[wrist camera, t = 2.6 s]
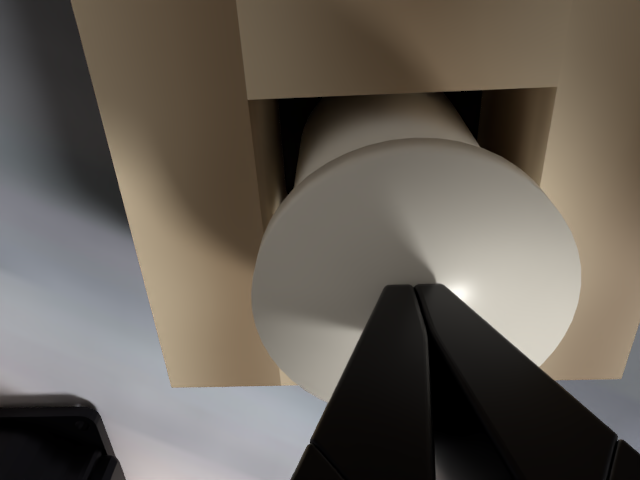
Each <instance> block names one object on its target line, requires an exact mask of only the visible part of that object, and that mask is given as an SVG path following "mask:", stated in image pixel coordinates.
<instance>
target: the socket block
mask: <svg viewBox="0 0 640 480" xmlns="http://www.w3.org/2000/svg"><path fill="white" fill-rule="evenodd" d="M71 4H72V8H73V11H74V15H75V19H76V23H77V27H78V31H79V34H80V38H81V42H82V46H83V50H84V54H85V57H86V61H87V65H88V69H89V73H90V77H91V80H92V84H93V88H94V92H95V96H96V100H97V103H98V107H99V111H100V115H101V119H102V123H103V126H104V130H105V134H106V138H107V142H108V146H109V149H110V153H111V157H112V161H113V165H114V169H115V172H116V176H117V180H118V184H119V188H120V192H121V195H122V199H123V203H124V207H125V211H126V215H127V218H128V222H129V226H130V230H131V234H132V238H133V241H134V245H135V249H136V253H137V257H138V261H139V264H140V268H141V272H142V276H143V280H144V284H145V287H146V291H147V295H148V299H149V303H150V307H151V310H152V314H153V318H154V322H155V326H156V330H157V333H158V337H159V341H160V345H161V349H162V352H163V356H164V360H165V364H166V368H167V372H168V375H169V379H170V383H171V387H172V388H179V387H230V386H282V385H297V384H296V383H295V382H293V381H292V380H291V379H290V378H289V377H288V376H287V375H286V374H285V373H284V372H283V371H282V370H281V369H280V368H279V367H278V366H277V364H276V363H275V362H274V361H273V359H272V358H271V357H270V355H269V354H268V352H267V350H266V348H265V347H264V345H263V343H262V341H261V339H260V336H259V334H258V331H257V329H256V326H255V321H254V317H253V312H252V300H251V290H252V281H253V274H254V269H255V265H256V260H257V256H258V252H259V248H260V244H261V241H262V237H263V235H264V233H265V230H266V228H267V226H268V224H269V221H270V219H271V218H272V216H273V215H274V213H275V212H276V210H277V208H278V207H279V205H280V204H281V203H282V202H283V200H284V199H285V198H286V197H287V192H286V181H285V169H284V158H283V147H282V135H281V124H280V113H279V101H278V99H280V98H303V97H327V96H351V95H375V94H399V93H423V92H447V91H471V90H482V99H481V108H480V118H479V127H478V137H477V143H478V144H479V146H480V147H481V148H484V149H486V150H488V151H490V152H493V153H495V154H497V155H499V156H502V157H503V158H505V159H506V160H508V161H509V162H511V163H513V164H514V165H516V166H517V167H519V168H520V169H521V170H522V171H524V172H525V173H526V174H527V175H528V176H529V177H531V178H532V179H533V180H534V181H535V182H536V183H537V185H538V186H539V187H540V188H541V189H542V191H543V192H544V193H545V194H546V195H547V197H548V198H549V199H550V201H551V202H552V203H553V205H554V206H555V207H556V208H557V210H558V211H559V212H560V214H561V215H562V217H563V218H564V220H565V222H566V223H567V225H568V227H569V229H570V230H571V232H572V235H573V238H574V240H575V243H576V246H577V248H578V253H579V259H580V264H581V289H580V295H579V301H578V305H577V308H576V311H575V314H574V317H573V320H572V322H571V324H570V326H569V328H568V330H567V332H566V334H565V336H564V337H563V339H562V340H561V342H560V343H559V344H558V346H557V347H556V349H555V350H554V351H553V353H552V354H551V355H550V356H549V357H548V358H547V359H546V361H545V362H544V363H543V364H542V365H541V366H540V368H541V369H542V370H543V371H544V372H545V373H547V374H548V375H549V376H550V377H551V378H552V379H553V380H592V379H621V378H622V375H623V372H624V369H625V366H626V362H627V359H628V356H629V353H630V350H631V347H632V344H633V341H634V338H635V335H636V332H637V329H638V325H639V322H640V0H71Z"/></svg>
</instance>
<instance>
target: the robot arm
mask: <svg viewBox="0 0 640 480" xmlns="http://www.w3.org/2000/svg"><path fill="white" fill-rule="evenodd" d="M617 439H618V436H617V434H616V433H615V432H613V431H612V430H611V429H610V428H609V427H608V426H607V425H605V424H604V423H603V422H602V421H601V420H600V419H598V418H597V417H596V416H595V415H594V414H593V413H592V412H590V411H589V410H588V409H587V408H586V407H585V406H583V405H582V404H581V403H580V402H579V401H578V400H577V399H575V398H574V397H573V396H572V395H571V394H570V393H568V392H567V391H566V390H565V389H564V388H563V387H562V386H560V385H559V384H558V383H557V382H556V381H555V380H553V379H552V378H551V377H550V376H549V375H548V374H547V373H545V372H544V371H543V370H542V369H541V368H540V367H538V366H537V365H536V364H535V363H534V362H533V361H532V360H530V359H529V358H528V357H527V356H526V355H525V354H523V353H522V352H521V351H520V350H519V349H518V348H517V347H515V346H514V345H513V344H512V343H511V342H510V341H508V340H507V339H506V338H505V337H504V336H503V335H502V334H500V333H499V332H498V331H497V330H496V329H495V328H493V327H492V326H491V325H490V324H489V323H488V322H487V321H485V320H484V319H483V318H482V317H481V316H480V315H478V314H477V313H476V312H475V311H474V310H473V309H471V308H470V307H469V306H468V305H467V304H466V303H465V302H463V301H462V300H461V299H460V298H459V297H458V296H456V295H455V294H454V293H453V292H452V291H451V290H450V289H448V288H447V287H446V286H445V285H443V284H440V283H433V284H417V285H415V287H413V286H412V285H410V284H395V285H386V286H385V287H384V288H383V290H382V292H381V294H380V296H379V299H378V301H377V303H376V305H375V307H374V309H373V311H372V313H371V315H370V317H369V319H368V321H367V323H366V326H365V328H364V330H363V332H362V334H361V336H360V338H359V340H358V342H357V344H356V346H355V348H354V350H353V352H352V355H351V357H350V359H349V361H348V363H347V365H346V367H345V369H344V371H343V373H342V375H341V377H340V379H339V381H338V384H337V386H336V388H335V390H334V392H333V394H332V396H331V398H330V400H329V402H328V404H327V406H326V408H325V410H324V413H323V415H322V417H321V419H320V421H319V423H318V425H317V427H316V429H315V431H314V433H313V435H312V437H311V440H310V444H309V445H307V447H306V449H305V451H304V453H303V455H302V457H301V459H300V461H299V464H298V466H297V468H296V470H295V472H294V474H293V475H292V477H291V479H290V480H640V454H639V453H638V452H637V451H636V450H635V449H633V448H632V447H631V446H630V445H629V444H628V443H627V442H625V441H624V440H618V441H617ZM0 480H126V479H125V476H124V473H123V470H122V468H121V465H120V462H119V460H118V459H117V458H116V456H115V454H114V451H113V448H112V446H111V443H110V440H109V438H108V435H107V432H106V429H105V427H104V424H103V421H102V419H101V416H100V415H99V413H98V412H97V411H95V410H94V409H91V408H89V407H47V408H0Z"/></svg>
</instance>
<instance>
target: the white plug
mask: <svg viewBox="0 0 640 480" xmlns="http://www.w3.org/2000/svg"><path fill="white" fill-rule="evenodd" d="M433 283H440V284H443V285H445V286H446V287H447V288H448V289H450V290H451V291H452V292H453V293H454V294H455V295H456V296H458V297H459V298H460V299H461V300H462V301H463V302H465V303H466V304H467V305H468V306H469V307H470V308H471V309H473V310H474V311H475V312H476V313H477V314H478V315H480V316H481V317H482V318H483V319H484V320H485V321H487V322H488V323H489V324H490V325H491V326H492V327H493V328H495V329H496V330H497V331H498V332H499V333H500V334H502V335H503V336H504V337H505V338H506V339H507V340H508V341H510V342H511V343H512V344H513V345H514V346H515V347H517V348H518V349H519V350H520V351H521V352H522V353H523V354H525V355H526V356H527V357H528V358H529V359H530V360H532V361H533V362H534V363H535V364H536V365H537V366H538V367H540V366H541V365H542V364H543V363H544V362H545V361H546V359H547V358H548V357H549V356H550V355H551V354H552V353H553V351H554V350H555V349H556V347H557V346H558V344H559V343H560V342H561V340H562V339H563V337H564V336H565V334H566V332H567V330H568V328H569V326H570V324H571V322H572V320H573V317H574V314H575V311H576V308H577V305H578V301H579V295H580V289H581V264H580V259H579V253H578V248H577V246H576V243H575V240H574V238H573V235H572V232H571V230H570V229H569V227H568V225H567V223H566V222H565V220H564V218H563V217H562V215H561V214H560V212H559V211H558V210H557V208H556V207H555V206H554V205H553V203H552V202H551V201H550V199H549V198H548V197H547V195H546V194H545V193H544V192H543V191H542V189H541V188H540V187H539V186H538V185H537V183H536V182H535V181H534V180H533V179H532V178H531V177H529V176H528V175H527V174H526V173H525V172H524V171H522V170H521V169H520V168H519V167H517V166H516V165H514V164H513V163H511V162H509V161H508V160H506V159H505V158H503V157H502V156H499V155H497V154H495V153H493V152H490V151H488V150H486V149H484V148H481V147H480V146H479V144H478V143H477V141H476V140H475V138H474V137H473V135H472V134H471V132H470V130H469V129H468V127H467V126H466V124H465V123H464V121H463V119H462V118H461V116H460V115H459V113H458V112H457V110H456V109H455V107H454V105H453V104H452V102H451V101H450V100H449V99H448V98H447V96H446V95H445V94H444V93H443V92H423V93H399V94H375V95H351V96H327V97H323V98H322V99H321V100H320V101H319V102H318V103H317V105H316V106H315V107H314V109H313V110H312V112H311V114H310V115H309V117H308V119H307V121H306V124H305V126H304V129H303V132H302V136H301V142H300V149H299V156H298V163H297V170H296V176H295V183H294V189H293V190H292V191H291V192H290V193H289V195H288V196H287V197H286V198H285V199H284V200H283V202H282V203H281V204H280V205H279V207H278V208H277V210H276V212H275V213H274V215H273V216H272V218H271V219H270V221H269V224H268V226H267V228H266V230H265V233H264V235H263V237H262V241H261V244H260V248H259V252H258V256H257V260H256V265H255V269H254V274H253V281H252V290H251V300H252V312H253V317H254V321H255V326H256V329H257V331H258V334H259V336H260V339H261V341H262V343H263V345H264V347H265V348H266V350H267V352H268V354H269V355H270V357H271V358H272V359H273V361H274V362H275V363H276V364H277V366H278V367H279V368H280V369H281V370H282V371H283V372H284V373H285V374H286V375H287V376H288V377H289V378H290V379H291V380H292V381H293V382H295V383H296V384H297V385H299V386H300V387H301V388H303V389H304V390H305V391H307V392H309V393H310V394H312V395H314V396H316V397H317V398H319V399H321V400H323V401H325V402H329V400H330V398H331V396H332V394H333V392H334V390H335V388H336V386H337V384H338V381H339V379H340V377H341V375H342V373H343V371H344V369H345V367H346V365H347V363H348V361H349V359H350V357H351V355H352V352H353V350H354V348H355V346H356V344H357V342H358V340H359V338H360V336H361V334H362V332H363V330H364V328H365V326H366V323H367V321H368V319H369V317H370V315H371V313H372V311H373V309H374V307H375V305H376V303H377V301H378V299H379V296H380V294H381V292H382V290H383V288H384V287H385V286H386V285H395V284H410V285H412V286H413V287H415V285H417V284H433Z"/></svg>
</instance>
